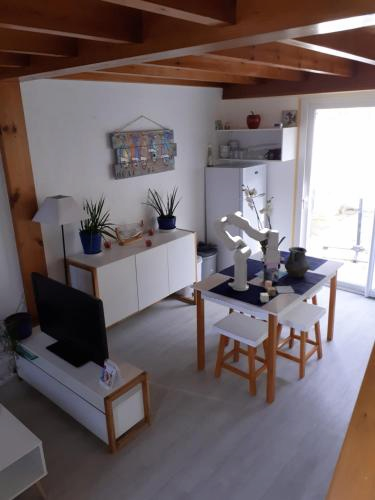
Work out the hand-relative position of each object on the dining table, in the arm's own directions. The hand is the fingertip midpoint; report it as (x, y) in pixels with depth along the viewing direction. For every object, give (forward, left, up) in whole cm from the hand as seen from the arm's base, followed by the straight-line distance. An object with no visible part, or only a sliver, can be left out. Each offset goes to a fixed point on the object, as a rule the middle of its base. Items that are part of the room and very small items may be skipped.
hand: (272, 269), depth 302 cm
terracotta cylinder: (0, +10, -20) cm, 23 cm away
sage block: (-7, -10, -20) cm, 24 cm away
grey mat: (+12, +7, -20) cm, 24 cm away
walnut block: (0, 0, -20) cm, 20 cm away
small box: (+5, +24, -20) cm, 32 cm away
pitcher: (+28, +33, -20) cm, 48 cm away
